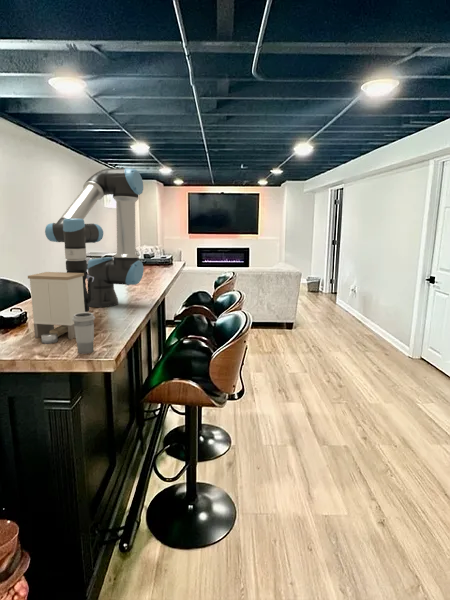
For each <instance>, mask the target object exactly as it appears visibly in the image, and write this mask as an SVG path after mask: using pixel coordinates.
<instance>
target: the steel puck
mask: <svg viewBox="0 0 450 600" xmlns="http://www.w3.org/2000/svg"><path fill="white" fill-rule="evenodd" d="M40 337H41V343H42V344H45V345H51V344H55V343H58V342H59V336H57V333H50V332H49V333H45V334H42V335H41V336H40Z"/></svg>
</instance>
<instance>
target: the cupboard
mask: <svg viewBox="0 0 450 600" xmlns="http://www.w3.org/2000/svg"><path fill="white" fill-rule="evenodd" d="M83 276H84V273H66V272H61V271H56V272H55V271H44V272H39V273H35V274H30V275H27V279H29V286H30V296H31V297H30V298H31V308H32V319H33V320H32V321H33V331H34V338H40V337H41V335H42V334H45V333H50V332H49V331H50V330H53V329H55V326H61V325H68V332H67V336H68V340H73V339H76V336H75V328H74V321H73V320H72V319H73V317H74V314H77V313H84V312H85V308H84V292H83Z"/></svg>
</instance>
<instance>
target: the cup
mask: <svg viewBox="0 0 450 600" xmlns="http://www.w3.org/2000/svg"><path fill="white" fill-rule="evenodd" d="M95 319H96V317H95V316H94V313H92V312H89V311H88V312H84V313H77V314H74V317H73V319H72V320H73V321H74V328H75V336H76V337H75V341H76V346H77V353H78V354H85V355H86V354H90V353H91V354H92V353H93V352H94V340H95V323H94V320H95Z"/></svg>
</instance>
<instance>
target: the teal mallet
mask: <svg viewBox="0 0 450 600" xmlns="http://www.w3.org/2000/svg"><path fill="white" fill-rule="evenodd" d="M49 333H57V336H58V337H60V336H62V335H64V334H65V333H68V325H58V326H57V327H54V329H53V330H50V331H49Z"/></svg>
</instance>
